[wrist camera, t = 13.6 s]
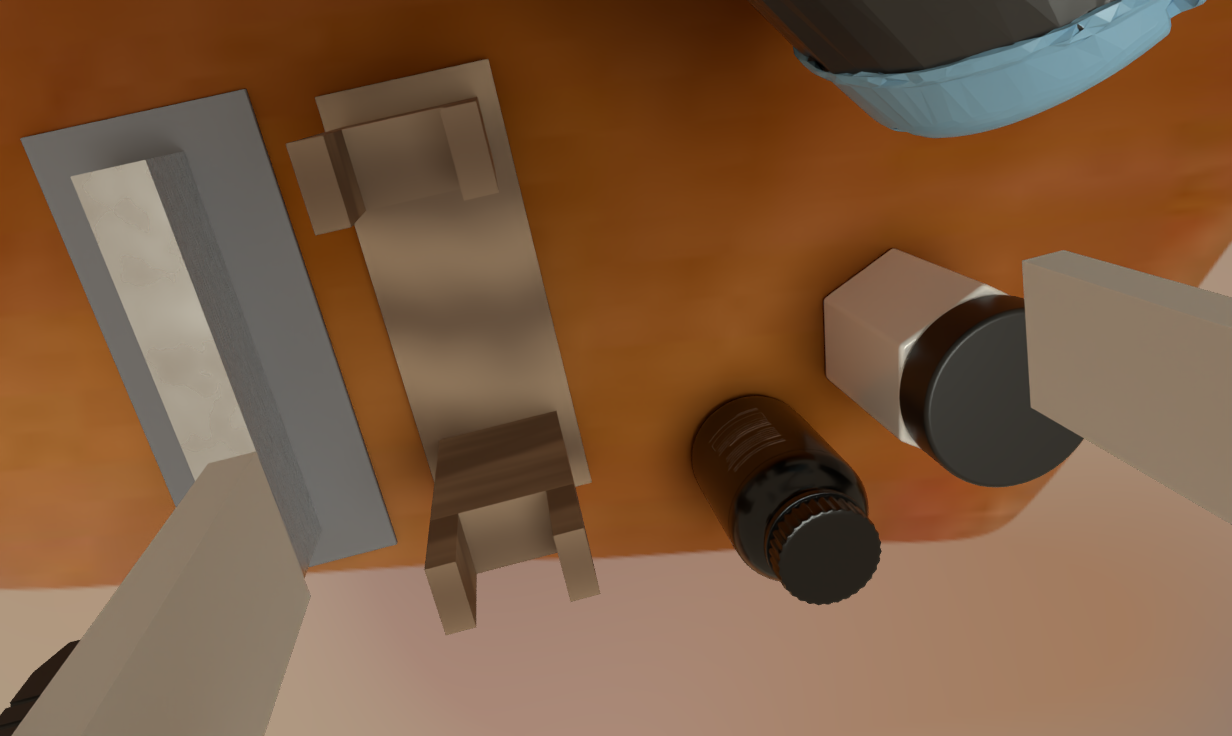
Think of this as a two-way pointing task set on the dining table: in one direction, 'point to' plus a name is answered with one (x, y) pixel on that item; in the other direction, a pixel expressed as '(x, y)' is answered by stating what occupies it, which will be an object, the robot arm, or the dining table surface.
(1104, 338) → the robot arm
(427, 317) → the stand
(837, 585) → the supplement bottle
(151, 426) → the mat
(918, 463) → the dining table surface
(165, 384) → the rail
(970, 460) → the jar
